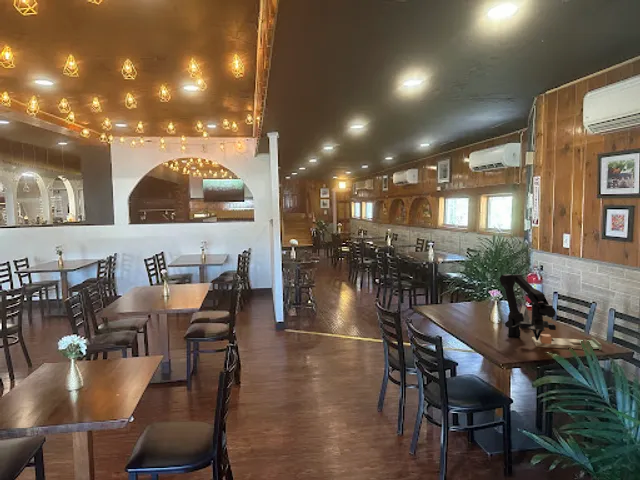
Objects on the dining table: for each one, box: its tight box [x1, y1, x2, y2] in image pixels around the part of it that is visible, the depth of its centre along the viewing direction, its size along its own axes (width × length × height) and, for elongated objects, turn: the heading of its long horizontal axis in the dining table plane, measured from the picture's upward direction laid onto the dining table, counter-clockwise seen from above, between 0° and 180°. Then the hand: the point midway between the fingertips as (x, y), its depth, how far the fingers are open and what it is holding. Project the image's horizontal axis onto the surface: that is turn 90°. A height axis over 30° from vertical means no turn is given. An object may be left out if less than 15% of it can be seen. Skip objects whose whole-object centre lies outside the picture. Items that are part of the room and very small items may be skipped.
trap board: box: [531, 336, 603, 351], centre depth 249 cm, size 33×13×4 cm, turn 74°
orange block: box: [539, 333, 553, 344], centre depth 249 cm, size 5×5×4 cm
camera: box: [519, 304, 534, 329], centre depth 286 cm, size 9×12×15 cm
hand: (536, 340), depth 250 cm, fingers closed
